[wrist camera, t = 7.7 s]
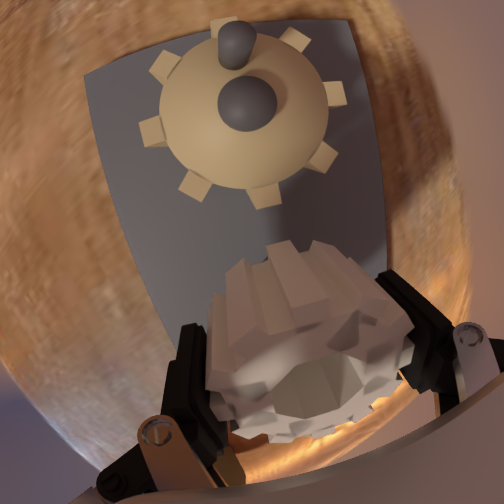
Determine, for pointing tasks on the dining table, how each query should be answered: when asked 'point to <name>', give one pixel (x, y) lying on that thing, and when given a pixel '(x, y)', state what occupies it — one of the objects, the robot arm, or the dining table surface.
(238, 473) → the squeeze bottle
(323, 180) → the gear board
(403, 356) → the cream idler gear
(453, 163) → the dining table surface
